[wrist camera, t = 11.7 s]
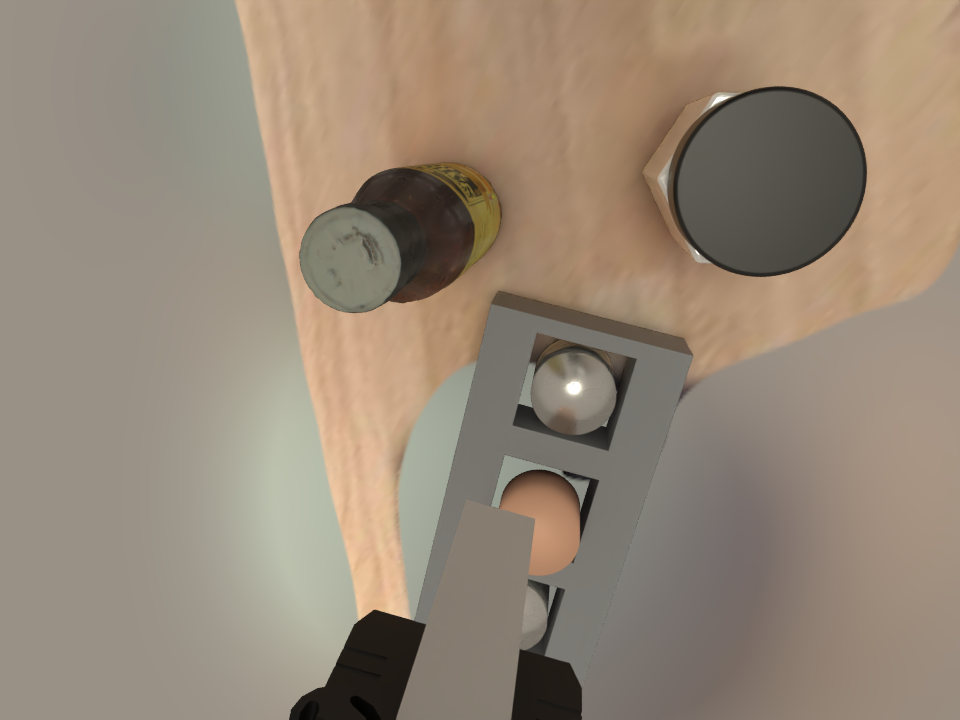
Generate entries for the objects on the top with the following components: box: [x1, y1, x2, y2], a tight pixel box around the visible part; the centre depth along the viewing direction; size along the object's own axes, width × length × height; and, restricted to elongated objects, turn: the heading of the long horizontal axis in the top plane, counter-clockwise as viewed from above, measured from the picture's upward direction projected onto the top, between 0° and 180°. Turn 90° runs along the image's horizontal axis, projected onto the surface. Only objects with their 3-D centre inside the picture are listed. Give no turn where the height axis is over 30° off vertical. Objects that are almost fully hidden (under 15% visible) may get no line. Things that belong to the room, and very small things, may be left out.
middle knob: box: [499, 470, 580, 576], centre depth 45 cm, size 5×5×4 cm
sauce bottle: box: [299, 163, 502, 313], centre depth 37 cm, size 6×6×20 cm
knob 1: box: [520, 579, 550, 650], centre depth 51 cm, size 5×5×4 cm
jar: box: [643, 86, 867, 277], centre depth 38 cm, size 9×8×12 cm
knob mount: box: [414, 291, 693, 687], centre depth 49 cm, size 24×12×4 cm, turn 166°
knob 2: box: [531, 339, 616, 435], centre depth 46 cm, size 5×5×4 cm
